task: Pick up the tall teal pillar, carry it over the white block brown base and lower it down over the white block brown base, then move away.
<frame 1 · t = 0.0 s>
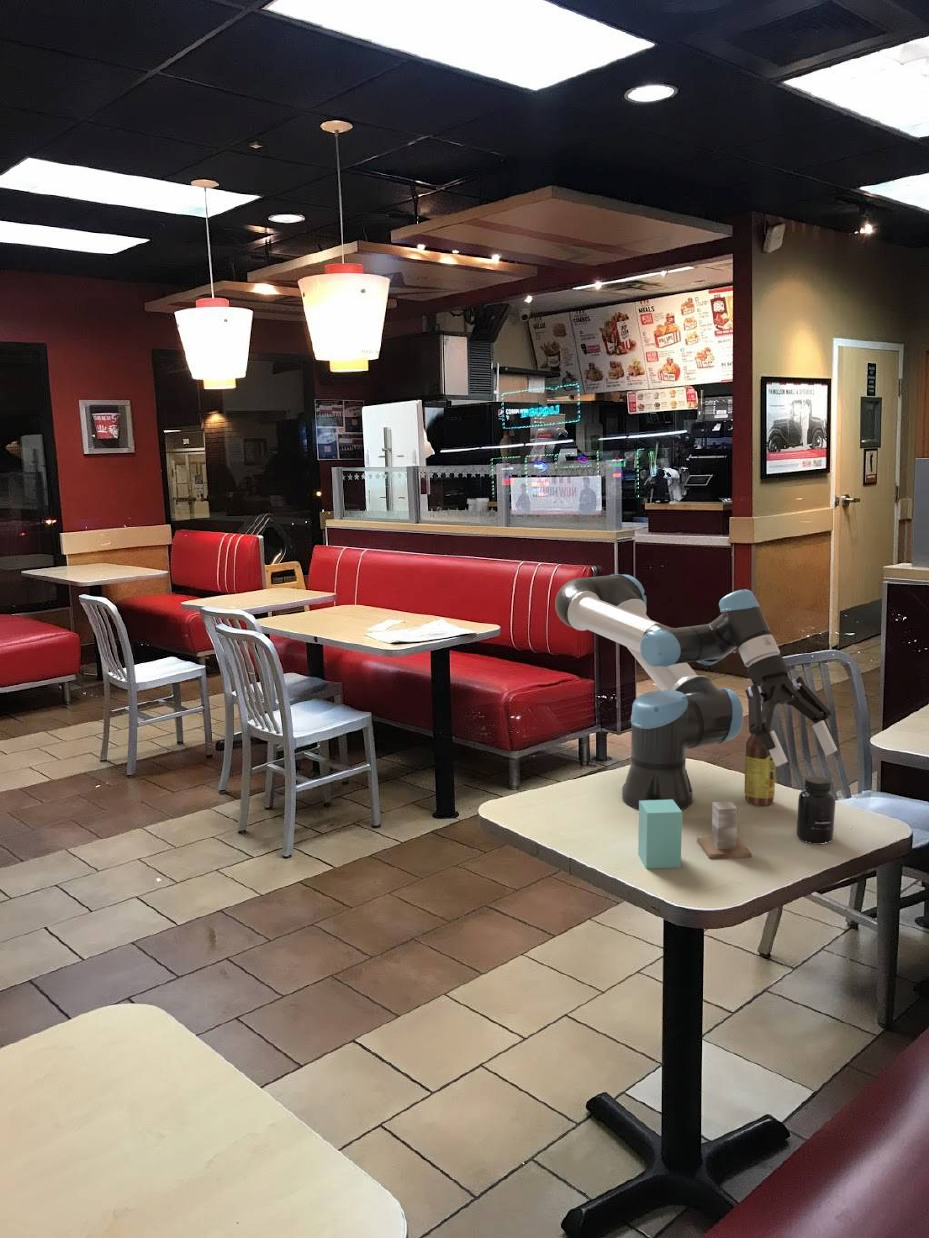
hand: (807, 758, 194), 15 cm above the table, tool tilted 35°, fingers open, 13 cm apart
tall teal pillar: (659, 860, 184), on the table
supplement bottle: (814, 839, 194), on the table
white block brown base: (723, 848, 189), on the table
sauce bottle: (758, 802, 213), on the table
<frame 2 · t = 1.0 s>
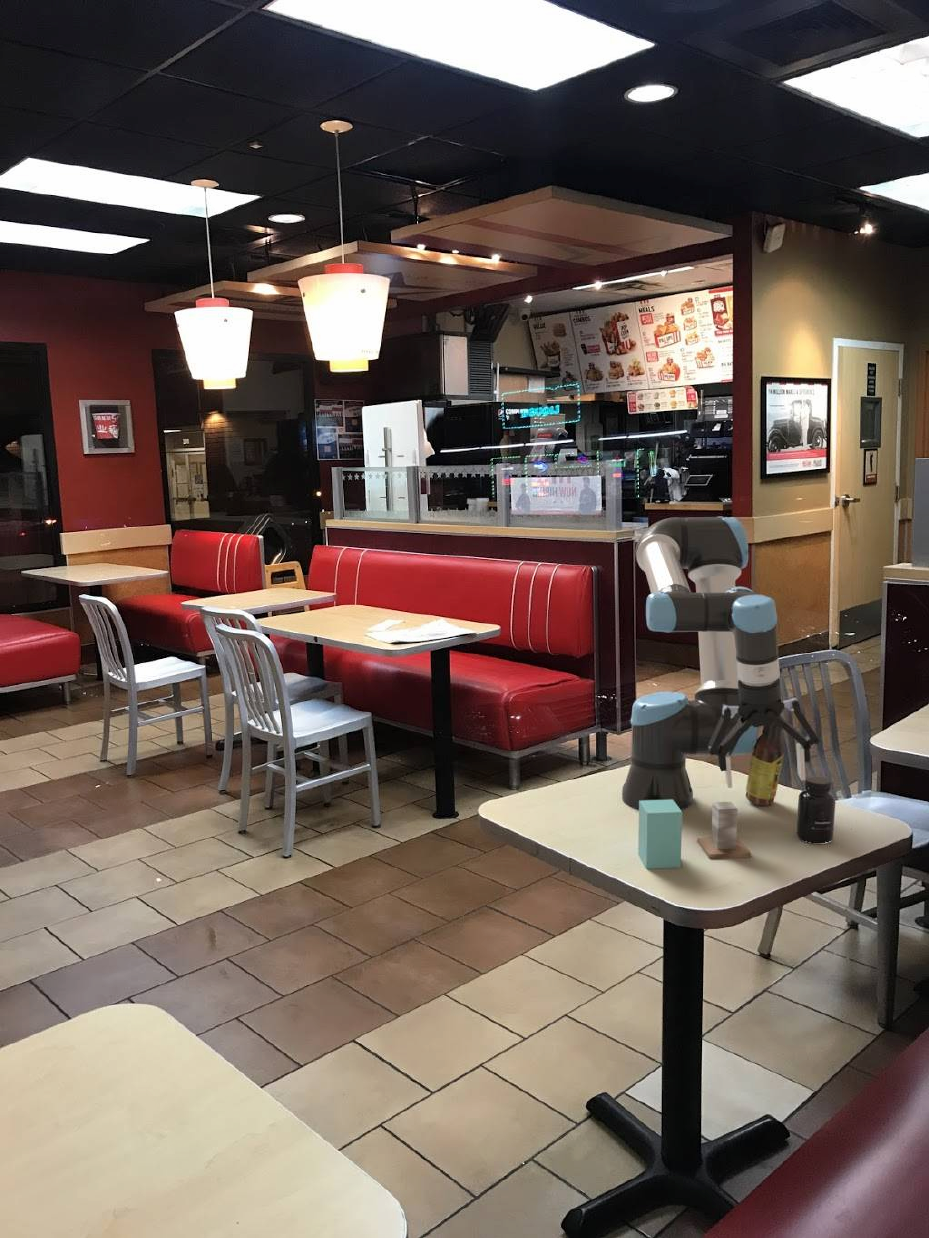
hand: (765, 780, 189), 13 cm above the table, tool pointing down, fingers open, 13 cm apart
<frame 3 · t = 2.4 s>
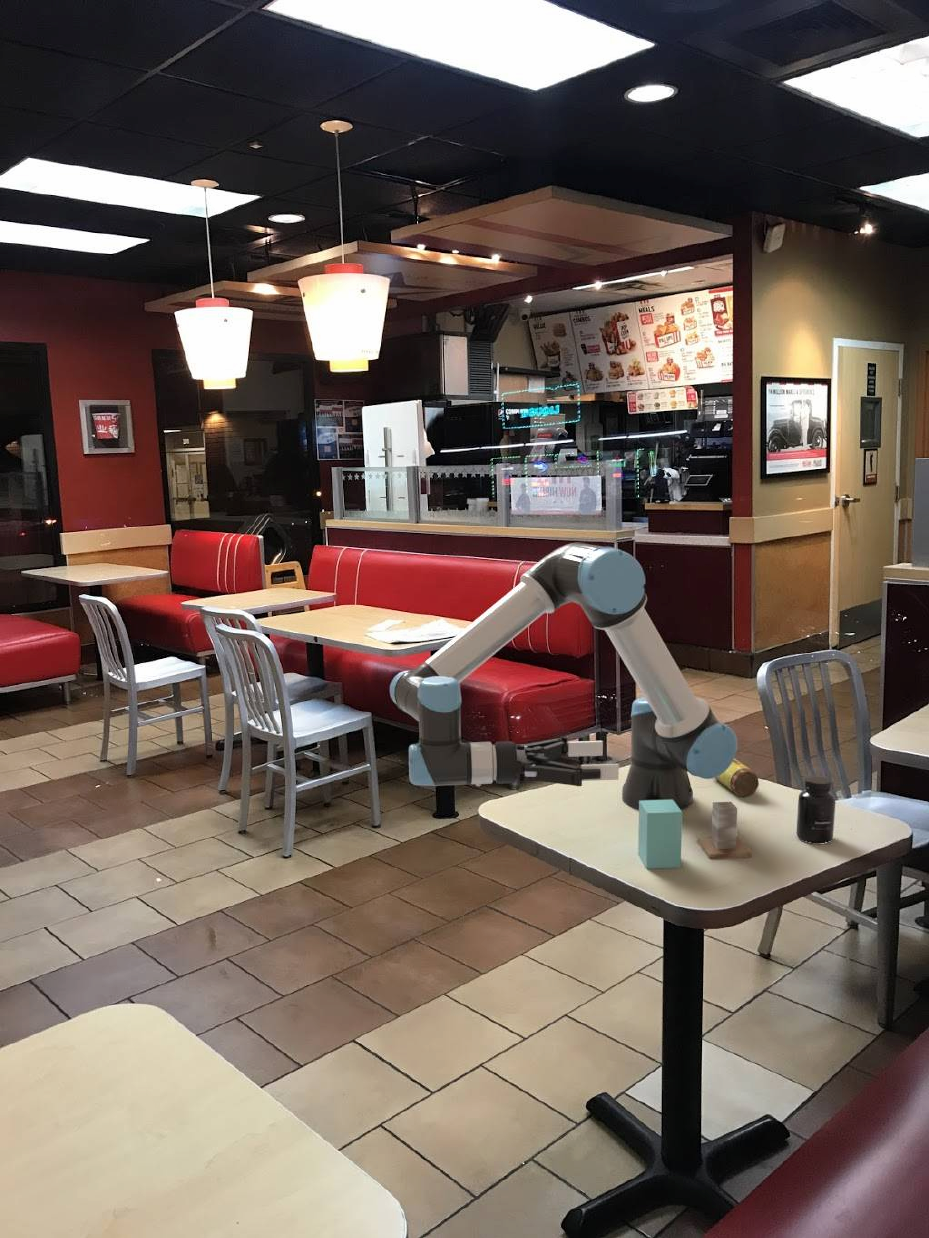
hand: (610, 759, 180), 20 cm above the table, tool horizontal, fingers open, 13 cm apart
sauce bottle: (748, 785, 215), point 3 cm above the table
everything else where it was.
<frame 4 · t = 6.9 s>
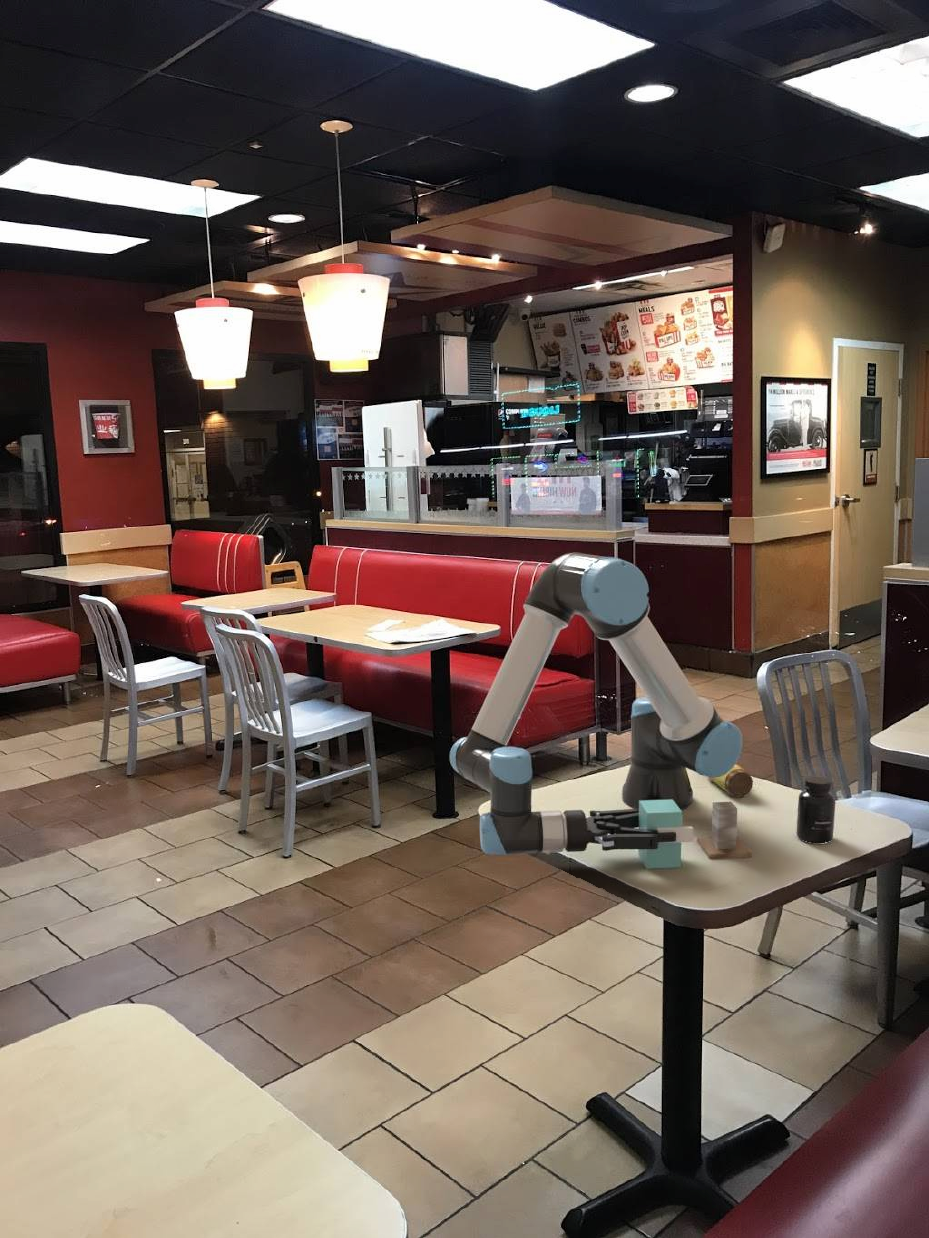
hand: (686, 826, 184), 7 cm above the table, tool horizontal, fingers closed on tall teal pillar, 6 cm apart
tall teal pillar: (659, 860, 184), on the table, touching gripper
sauce bottle: (742, 785, 215), point 3 cm above the table
everything else where it was.
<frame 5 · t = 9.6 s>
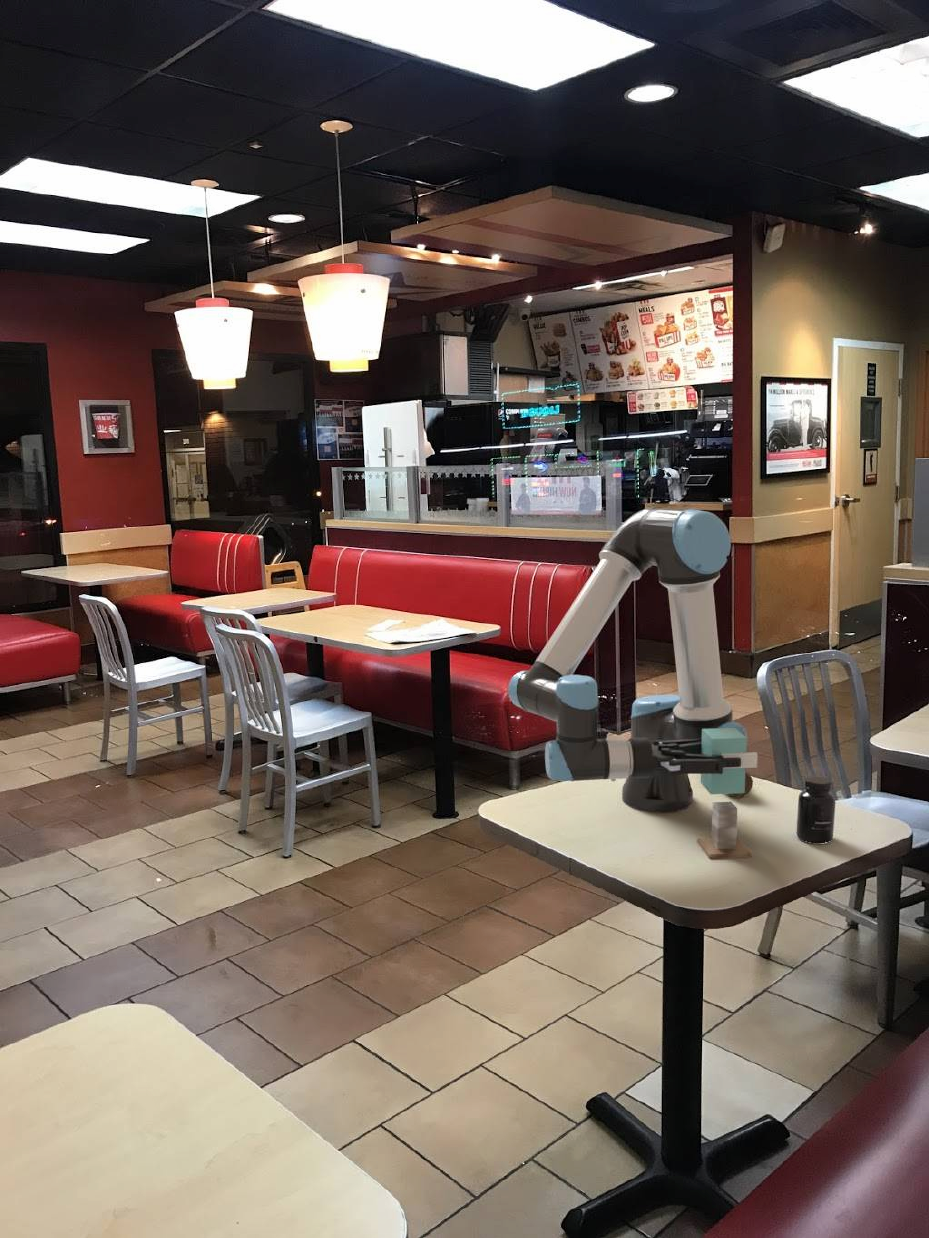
hand: (749, 753, 186), 19 cm above the table, tool horizontal, fingers closed on tall teal pillar, 6 cm apart
tall teal pillar: (722, 787, 187), point 12 cm above the table, touching gripper
everything else where it was.
when the fingers open (8 cm above the table, at t = 12.6 s): tall teal pillar stays where it is, resting on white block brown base.
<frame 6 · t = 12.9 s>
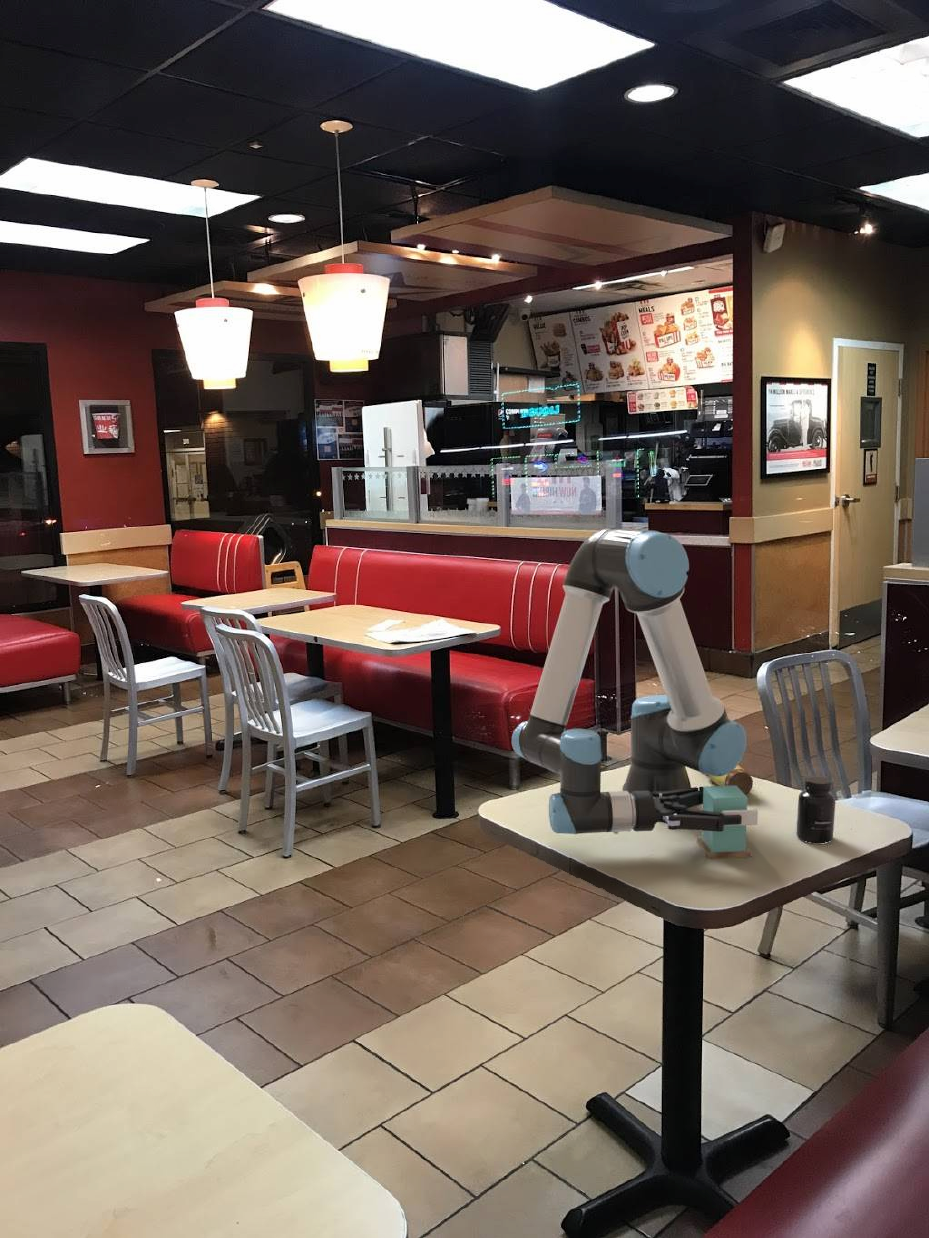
hand: (747, 807, 188), 8 cm above the table, tool horizontal, fingers open, 9 cm apart
tall teal pillar: (723, 845, 189), point 1 cm above the table, touching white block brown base
everything else where it was.
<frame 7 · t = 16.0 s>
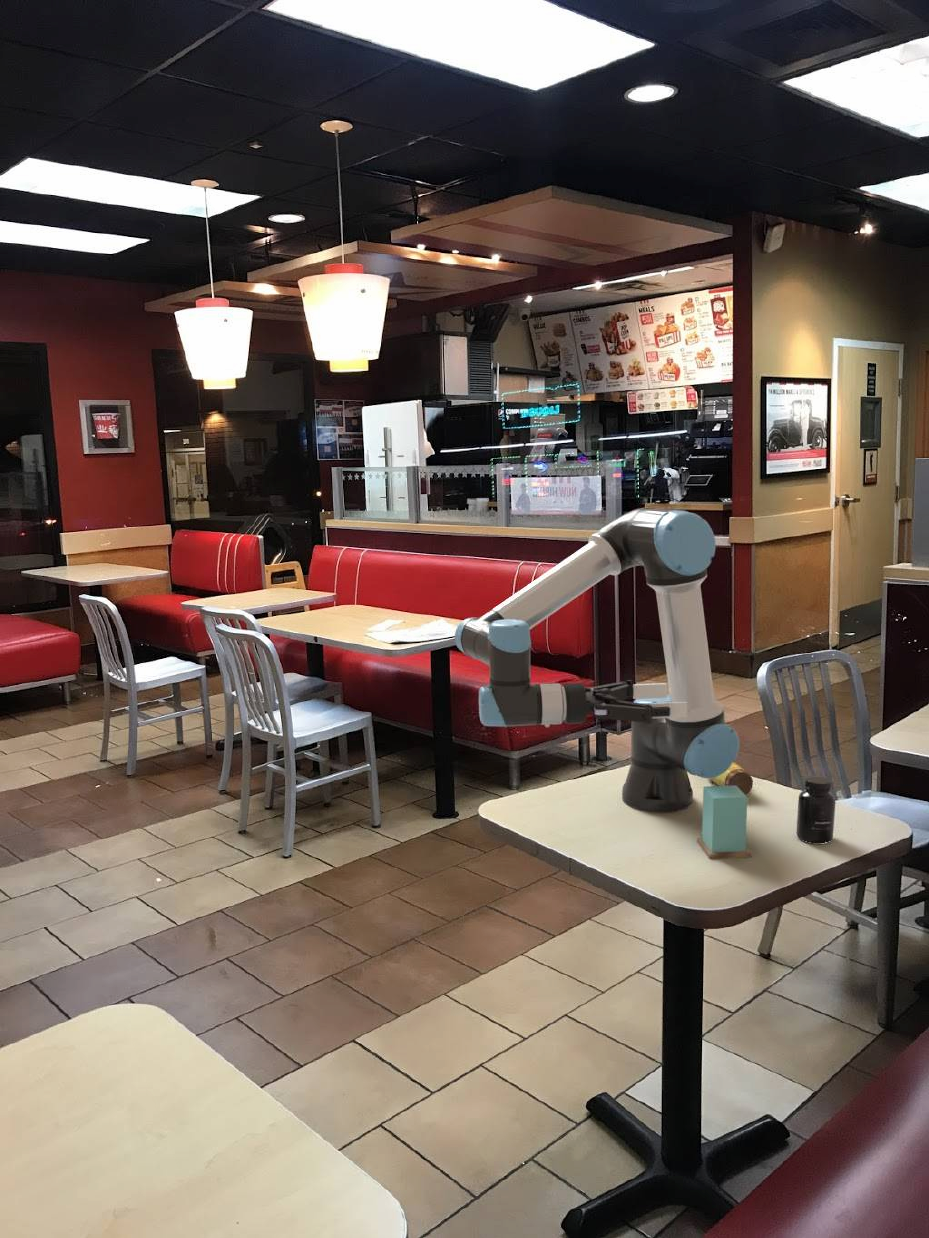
hand: (676, 699, 183), 30 cm above the table, tool horizontal, fingers open, 13 cm apart
nothing on the table moved.
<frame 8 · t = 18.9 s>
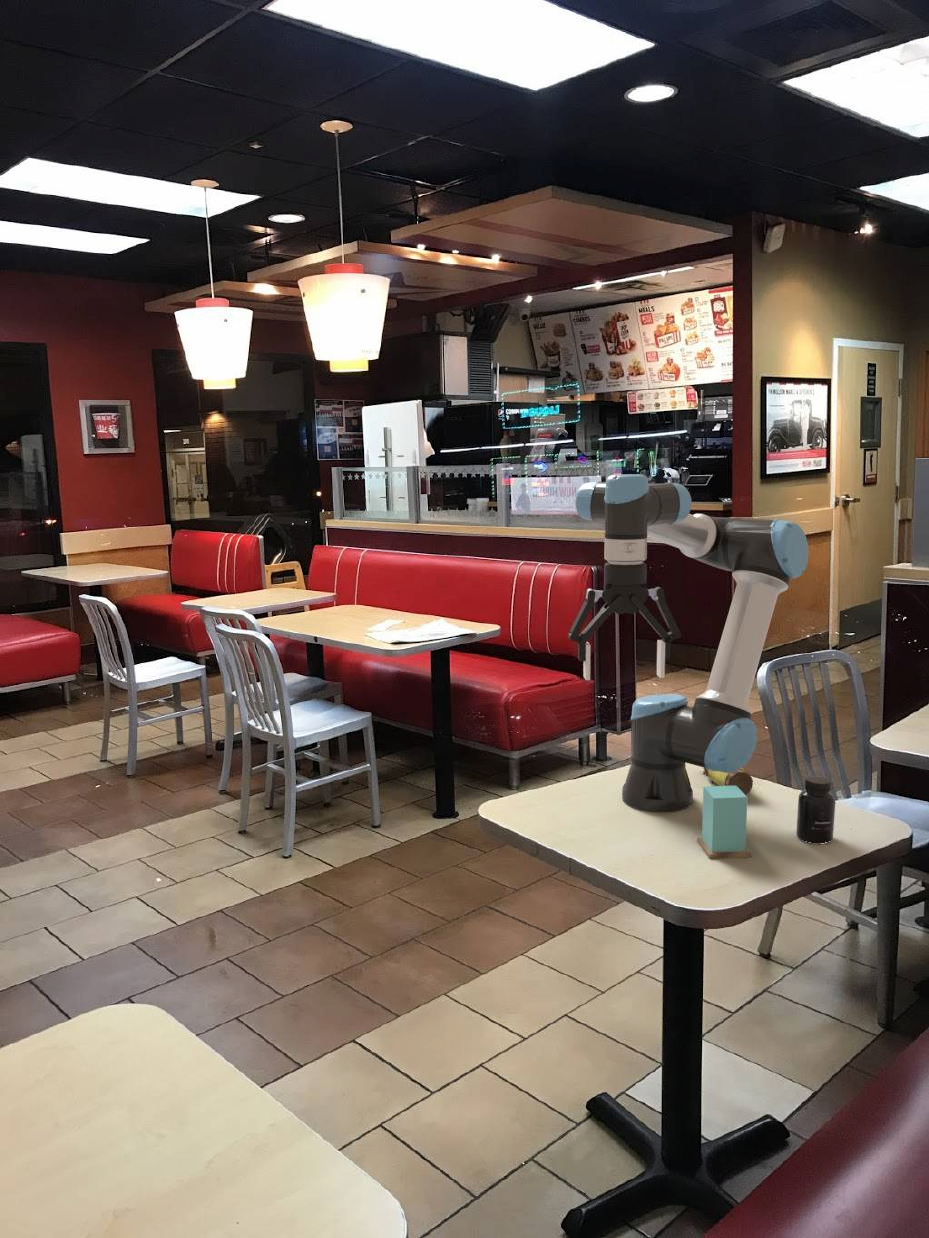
hand: (623, 677, 180), 35 cm above the table, tool pointing down, fingers open, 13 cm apart
nothing on the table moved.
at the end: tall teal pillar 0.1 cm from the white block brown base (horizontally); tall teal pillar point 0.8 cm above the table; tall teal pillar tilted 0° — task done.
